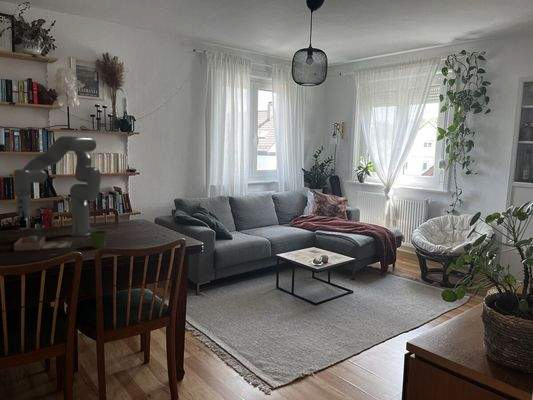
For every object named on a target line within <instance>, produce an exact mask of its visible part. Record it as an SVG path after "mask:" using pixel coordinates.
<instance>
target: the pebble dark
mask: <svg viewBox="0 0 533 400" xmlns="http://www.w3.org/2000/svg"><path fill="white" fill-rule="evenodd" d="M37 237H38V236H37V235H30V236H28V239H29V243H37Z"/></svg>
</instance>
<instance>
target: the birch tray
mask: <svg viewBox="0 0 533 400" xmlns="http://www.w3.org/2000/svg"><path fill="white" fill-rule="evenodd" d="M72 243H73V240H64V241H63V240H60V241H45V243H44V245H43V246H42V247H41V249H40V250H50V249H51V250H52V249H70V248H71V245H72Z"/></svg>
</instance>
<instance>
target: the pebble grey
mask: <svg viewBox="0 0 533 400" xmlns="http://www.w3.org/2000/svg"><path fill="white" fill-rule="evenodd" d="M28 229H29V217H28V218H26V228H19V230H22V231H23V230H24V231H25V230H28Z"/></svg>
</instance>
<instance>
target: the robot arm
mask: <svg viewBox="0 0 533 400" xmlns="http://www.w3.org/2000/svg"><path fill="white" fill-rule="evenodd" d="M96 148H97V142H96V140H95V139H94V138H92V137H88V136H87V137H85V136H84V137H83V136H71V135H70V136H67V135H66V136H59V137H57V139H56V140H54V142H53V143H52V144H51V145H50V147H48V148H47V150H45V152H43V153H42V154H39V155H37V156H35V157H34V158H33V159H31V160H30V161H28V163H27V164H26V165H24V167H23V168H21V169H20V168H19V169H15V170H14V171H13V189H14V192H13V193H14V196H15V197H16V214H17V215H18V225H19V226H18V227H19V229H20V228H26V218H28V219H29V214H31V212H32V206H31V196H32V183H35V184H36V183H37V184H41V183H45V181H47V179H48V173H47V172H46V171H45V170H44V168H47V167H50V166H54V165H56V164H58V163H60V161H61V160H62V159H63V158H64V157H65V155H66V154H67V153H68V152H74V154H75V156H76V164H75V165H76V166H75V171H74V178H75V180H77V182H80V183H75V184H73V185H72V186H71V187H70V189H69V196H70V199H71V211H72V232H70V236H72V237H87V236H88V237H89V236H90V234H89V232H91V231H98V228H96V227H91V226H90V204H89V201H94V200H96V199H97V198H98V197H99V194H100V188H101V180H102V179H101V178H102V175H101V171H100V169H99V168H97V167H95V166H92V164H93V162H92V161H93V158H92V154H91V153H90V152H93V151H95V150H96ZM81 182H82V183H81ZM84 183H85V184H84Z"/></svg>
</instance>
